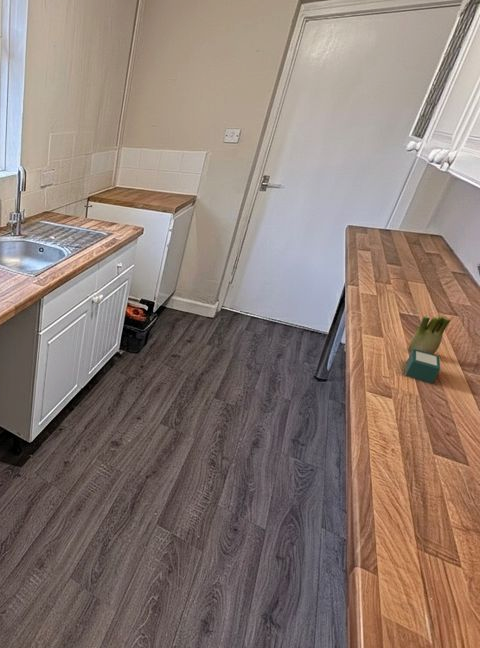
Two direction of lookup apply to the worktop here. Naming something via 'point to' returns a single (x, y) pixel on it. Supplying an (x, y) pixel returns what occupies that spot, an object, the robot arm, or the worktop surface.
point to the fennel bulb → (429, 334)
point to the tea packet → (422, 366)
